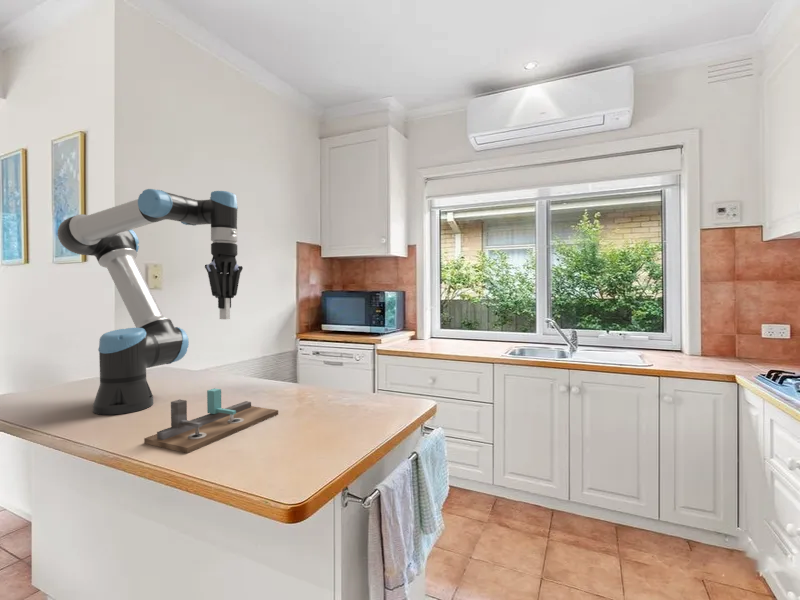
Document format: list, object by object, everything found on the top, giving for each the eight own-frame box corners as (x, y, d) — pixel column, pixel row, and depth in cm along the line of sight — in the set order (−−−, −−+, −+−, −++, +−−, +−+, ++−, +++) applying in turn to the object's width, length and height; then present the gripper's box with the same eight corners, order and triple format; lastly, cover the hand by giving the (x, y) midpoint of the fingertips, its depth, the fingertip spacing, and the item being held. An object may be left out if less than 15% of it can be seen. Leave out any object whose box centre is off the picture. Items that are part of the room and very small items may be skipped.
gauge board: (144, 443, 97) (143, 405, 96) (240, 408, 124) (240, 379, 124) (187, 453, 91) (187, 413, 91) (278, 414, 119) (278, 383, 118)
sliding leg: (207, 418, 110) (207, 390, 109) (214, 415, 112) (214, 388, 112) (231, 422, 106) (230, 393, 106) (238, 419, 109) (237, 391, 108)
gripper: (216, 240, 121) (216, 321, 122) (249, 244, 133) (249, 318, 134) (197, 241, 124) (198, 320, 125) (231, 245, 136) (231, 317, 137)
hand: (224, 319), depth 129 cm, fingers closed
